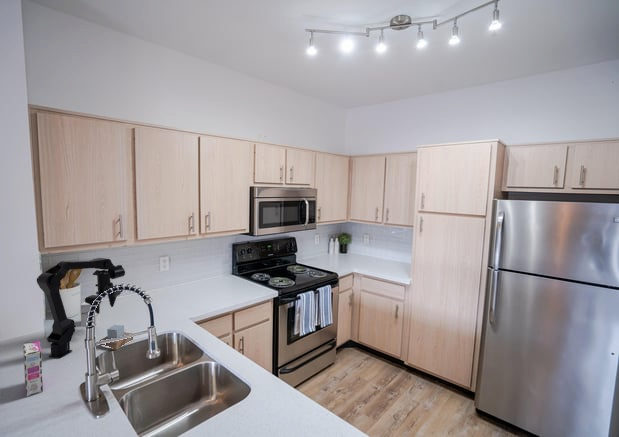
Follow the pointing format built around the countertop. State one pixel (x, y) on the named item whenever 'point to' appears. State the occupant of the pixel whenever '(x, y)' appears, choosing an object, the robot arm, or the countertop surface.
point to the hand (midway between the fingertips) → (105, 310)
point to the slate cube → (115, 331)
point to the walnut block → (117, 342)
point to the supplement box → (84, 313)
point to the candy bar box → (33, 368)
